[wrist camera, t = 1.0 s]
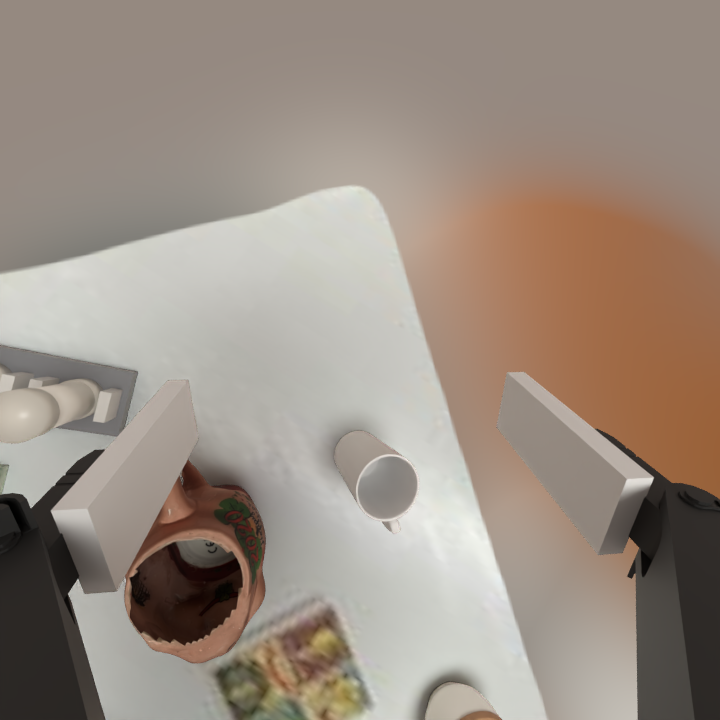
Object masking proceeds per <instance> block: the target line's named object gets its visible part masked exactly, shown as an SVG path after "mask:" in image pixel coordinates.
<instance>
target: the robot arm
mask: <svg viewBox="0 0 720 720" xmlns="http://www.w3.org/2000/svg"><path fill="white" fill-rule="evenodd" d="M497 428H498V430H499V431H500V432H501V433H502V435H503V436H504V437H505V439H506V440H507V441H508V442H509V444H510V445H511V446H512V447H513V449H514V450H515V451H516V452H517V454H518V455H519V456H520V457H521V459H522V460H523V461H524V462H525V464H526V465H527V466H528V467H529V469H530V470H531V471H532V472H533V474H534V475H535V476H536V477H537V479H538V480H539V481H540V483H541V484H542V485H543V486H544V487H545V489H546V490H547V491H548V493H549V494H550V495H551V496H552V498H553V499H554V500H555V501H556V503H557V504H558V505H559V506H560V508H561V509H562V510H563V512H564V513H565V514H566V515H567V517H568V518H569V519H570V520H571V521H572V523H573V524H574V525H575V527H576V528H577V529H578V530H579V531H580V533H581V534H582V535H583V537H584V538H585V539H586V540H587V542H588V543H589V544H590V545H591V547H592V548H593V549H594V550H595V552H596V553H597V554H598V555H603V554H617V553H623V551H624V548H625V546H626V543H627V541H628V539H629V537H630V538H631V539H632V540H633V541H634V542H635V543H636V545H637V546H638V547H639V550H638V553H637V555H636V557H635V560H634V562H633V564H632V566H631V568H630V571H629V573H628V577H629V578H632V577H633V575H634V574H635V573H636V629H637V692H638V693H637V697H638V720H720V500H719V499H718V498H717V497H715V496H714V495H712V494H710V493H708V492H707V491H705V490H702V489H699V488H697V487H694V486H691V485H687V484H683V483H671V482H670V481H669V480H667V479H666V478H665V477H663V476H662V475H661V474H660V473H658V472H657V471H656V470H655V469H653V468H652V467H651V466H650V465H648V464H647V463H646V462H644V461H643V460H642V459H641V458H639V457H636V455H635V454H634V453H633V452H632V451H631V450H629V449H626V448H625V446H624V445H623V444H622V443H620V442H619V441H617V439H615V438H614V437H612V436H610V435H608V434H607V433H605V432H603V431H601V430H598V429H594V428H592V427H591V426H590V425H589V424H588V423H586V422H585V421H584V420H583V419H581V418H580V417H579V416H578V415H576V414H575V413H574V412H573V411H571V410H570V409H569V408H568V407H566V406H565V405H564V404H563V403H562V402H560V401H559V400H558V399H557V398H556V397H554V396H553V395H552V394H551V393H549V392H548V391H547V390H545V389H544V388H543V387H542V386H541V385H539V384H538V383H537V382H536V381H535V380H533V379H532V378H531V377H529V376H528V375H527V374H526V373H525V372H507V375H506V380H505V386H504V391H503V396H502V402H501V406H500V411H499V417H498V422H497ZM198 439H199V436H198V431H197V425H196V420H195V415H194V409H193V404H192V398H191V393H190V387H189V382H188V380H168V381H167V382H166V383H165V384H164V385H163V386H162V387H161V389H160V390H159V391H158V392H157V393H156V394H155V395H154V396H153V397H152V399H151V400H150V401H149V402H148V403H147V404H146V405H145V406H144V407H143V409H142V410H141V411H140V412H139V413H138V414H137V415H136V416H135V417H134V419H133V420H132V421H131V422H130V423H129V424H128V425H127V426H126V427H125V429H124V430H123V431H122V432H121V433H120V434H119V435H118V436H117V437H116V439H115V440H114V441H113V442H112V443H111V444H110V445H109V446H108V447H107V449H106V450H94V451H93V452H91V453H89V454H88V455H86V456H85V457H83V458H81V459H80V460H78V461H77V462H76V463H75V464H74V465H73V466H72V467H71V468H70V469H69V470H68V471H67V472H66V475H65V476H62V477H61V478H60V480H59V481H58V482H57V483H56V485H55V486H53V487H52V488H51V489H50V490H49V491H48V492H47V493H46V494H45V495H44V496H43V497H42V498H41V499H40V500H39V501H38V502H37V503H36V504H35V505H34V506H33V507H32V508H30V506H29V504H28V501H27V499H26V498H25V497H24V496H23V495H21V494H15V493H10V494H2V495H0V720H105V717H104V713H103V710H102V706H101V703H100V699H99V696H98V693H97V689H96V686H95V682H94V679H93V675H92V672H91V668H90V665H89V661H88V658H87V654H86V651H85V648H84V644H83V641H82V637H81V634H80V630H79V627H78V623H77V620H76V616H75V613H74V609H73V606H72V603H71V600H70V598H69V595H68V593H69V591H70V590H71V588H72V587H73V585H74V584H75V582H76V580H77V579H79V581H80V584H81V586H82V588H83V591H84V593H85V594H89V593H102V592H116V591H117V590H118V588H119V586H120V585H121V583H122V581H123V579H124V577H125V575H126V573H127V572H128V570H129V568H130V566H131V564H132V562H133V560H134V559H135V557H136V555H137V553H138V551H139V549H140V547H141V546H142V544H143V542H144V540H145V538H146V536H147V534H148V532H149V531H150V529H151V527H152V525H153V523H154V521H155V519H156V518H157V516H158V514H159V512H160V510H161V508H162V506H163V505H164V503H165V501H166V499H167V497H168V495H169V493H170V492H171V490H172V488H173V486H174V484H175V482H176V480H177V478H178V477H179V475H180V473H181V471H182V469H183V467H184V465H185V464H186V462H187V460H188V458H189V456H190V454H191V452H192V451H193V449H194V447H195V445H196V443H197V441H198Z"/></svg>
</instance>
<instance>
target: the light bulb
mask: <svg viewBox="0 0 720 720" xmlns="http://www.w3.org/2000/svg"><path fill="white" fill-rule="evenodd" d="M7 373H12V372H11V370H10V369H9V368H8V367H6V366H5V365H3V364H1V363H0V380H1V377H2V374H7Z"/></svg>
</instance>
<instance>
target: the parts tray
mask: <svg viewBox="0 0 720 720" xmlns="http://www.w3.org/2000/svg"><path fill="white" fill-rule="evenodd" d="M8 467H9V465H2V464H0V495H1V494H2V490H3V486H4V482H5V478H6V475H7V471H8Z"/></svg>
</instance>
